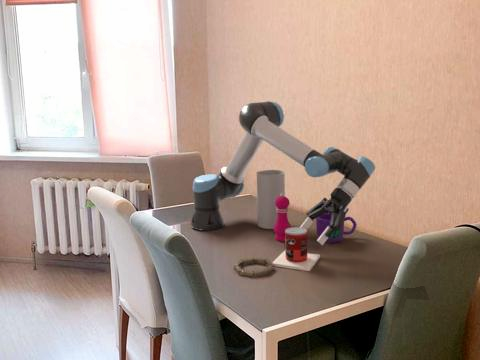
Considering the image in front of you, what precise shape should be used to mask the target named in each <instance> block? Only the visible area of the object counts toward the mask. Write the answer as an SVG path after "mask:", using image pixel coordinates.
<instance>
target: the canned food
mask: <svg viewBox="0 0 480 360" xmlns="http://www.w3.org/2000/svg"><path fill="white" fill-rule="evenodd" d="M284 243H285V245H284V246H285V251H286V259H287V260H288V261H290V262H303V261H306V260H307V253H308V229H307V230H306V229H304V228H300V226H296V227H294V226H291V228H288V229H286V230H285V241H284Z"/></svg>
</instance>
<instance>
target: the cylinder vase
mask: <svg viewBox="0 0 480 360" xmlns="http://www.w3.org/2000/svg"><path fill="white" fill-rule="evenodd" d="M285 175H286V173H285V171H284V170H278V169H263V170H259V171H257V172H256V194H257V195H256V199H257V201H256V203H257V206H256V207H257V226H258V227H259V228H261V229H262V230H263V229H264V230H274V226H275V223H276V221H277V218H278V213H277V211H276V210H277V209H276V208H277V207H276V205H275V200H276V199H277V198H278V197H280V194H281V193H284V197H286V184H285V183H286V182H285V181H286V180H285V177H286V176H285Z"/></svg>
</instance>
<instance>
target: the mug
mask: <svg viewBox="0 0 480 360" xmlns="http://www.w3.org/2000/svg"><path fill="white" fill-rule="evenodd" d="M331 215H332V214H331V213H325V214H323V215H321V216H319V217H317V218H315V219H316V220H315V221H316V222H315V225H316V226H315V227H316V236H317V237H316V238H317V239H318V238H319V237H320V236H321V234H322V233H323V232H324V231H325V229H326V228H327V227H328V226H329V227H330V222H331ZM346 221H350V222H351V224H352V227H351V230H349V231H345V230H344V229H345V222H346ZM357 225H358V224H357V222H356V220H355V219H354V218H353V217H351V216H345V219H344V221H343V224H342V227H341V230H340V231H338V230H336V231H334V232H333V233H332V235H331V236H330V237H329V238H328V239H327V240H326V242H325V243H330V244H331V243H333V244H334V243H338V242H340V241H341V240H343V238H344V236H347V235H351V234H353V233H354V232H355V231H356V228H357Z"/></svg>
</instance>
